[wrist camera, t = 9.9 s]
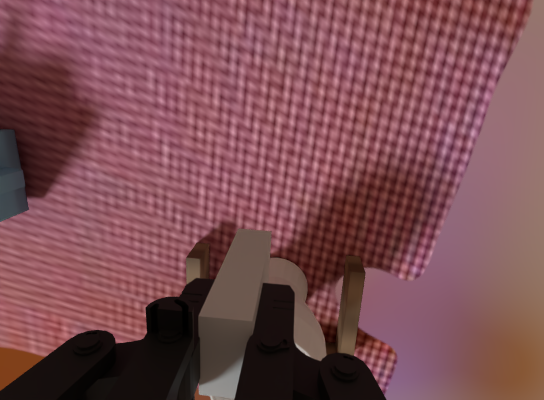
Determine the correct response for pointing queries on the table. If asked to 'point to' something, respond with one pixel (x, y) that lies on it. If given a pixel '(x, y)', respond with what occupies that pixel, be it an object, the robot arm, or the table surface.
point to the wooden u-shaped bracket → (348, 306)
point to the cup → (297, 310)
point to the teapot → (11, 177)
